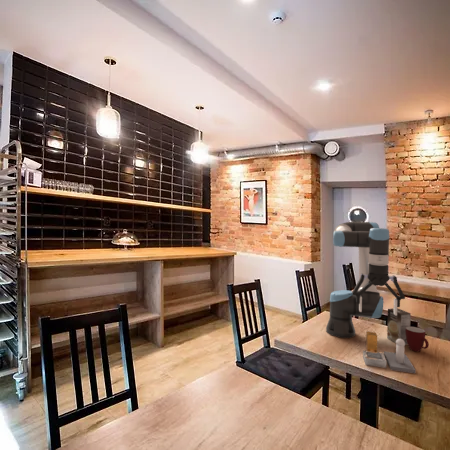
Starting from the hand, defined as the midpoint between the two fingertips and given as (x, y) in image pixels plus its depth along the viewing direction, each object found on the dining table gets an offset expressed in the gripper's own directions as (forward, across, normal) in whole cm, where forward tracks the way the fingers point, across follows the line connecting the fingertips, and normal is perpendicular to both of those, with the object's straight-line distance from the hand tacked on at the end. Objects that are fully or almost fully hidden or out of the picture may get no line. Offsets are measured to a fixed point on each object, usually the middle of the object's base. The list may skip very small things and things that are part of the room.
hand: (377, 312), depth 126 cm
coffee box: (+24, +16, +32) cm, 42 cm away
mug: (+24, +22, +22) cm, 38 cm away
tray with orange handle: (+23, -1, +4) cm, 23 cm away
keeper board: (+23, +9, +4) cm, 25 cm away
